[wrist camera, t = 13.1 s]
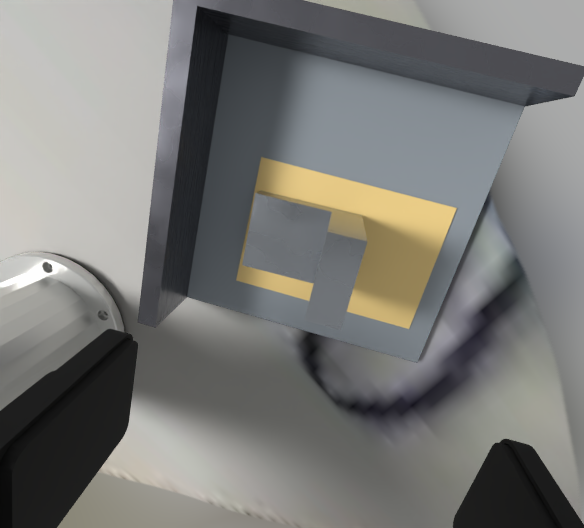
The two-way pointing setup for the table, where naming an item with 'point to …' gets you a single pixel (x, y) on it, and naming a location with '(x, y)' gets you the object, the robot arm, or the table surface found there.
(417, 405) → the table surface
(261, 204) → the bracket
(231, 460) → the table surface
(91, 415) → the robot arm
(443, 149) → the tray
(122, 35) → the table surface
